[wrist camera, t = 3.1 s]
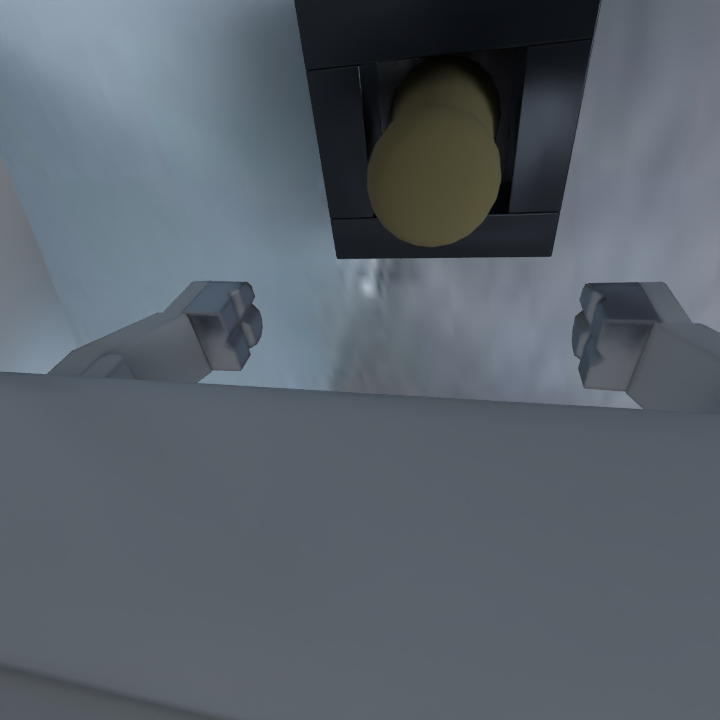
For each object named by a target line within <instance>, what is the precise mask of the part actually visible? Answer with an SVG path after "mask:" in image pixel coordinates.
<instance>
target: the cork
mask: <svg viewBox="0 0 720 720" xmlns="http://www.w3.org/2000/svg"><path fill="white" fill-rule="evenodd" d="M500 116H501V110H500V99H499V93H498V91H497V88H496V86H495V84H494V82H493V79H492V77H491V76H490V75H489V74H488V73H487V72H486V71H485V69H484V68H483V67H482V66H481V65H480V64H479V63H477V62H475V61H473V60H471V59H468V58H466V57H464V56H462V55H440V56H437V57H434V58H431V59H428V60H425V61H423V62H422V63H421V64H419V65H418V66H417V67H415V68H414V69H413V70H411V71H410V72H409V73H408V74H407V76H406V77H405V78H404V80H403V81H402V83H401V84H400V85H399V87H398V88H397V90H396V93H395V96H394V99H393V102H392V105H391V108H390V125H389V126H388V128H387V129H386V130H385V132H384V133H383V135H382V136H381V137H380V139H379V140H378V141H377V143H376V145H375V146H374V149H373V152H372V155H371V158H370V161H369V164H368V170H367V190H368V195H369V198H370V202H371V205H372V209H373V211H374V213H375V214H376V216H377V218H378V219H379V221H380V222H381V224H382V225H383V227H385V228H386V229H387V230H388V231H389V232H391V233H392V234H393V235H394V236H395V237H397V238H398V239H401V240H403V241H405V242H408V243H410V244H413V245H417V246H426V247H437V246H442V245H447V244H452V243H454V242H456V241H458V240H460V239H462V238H464V237H466V236H468V235H469V234H470V233H471V232H473V231H474V230H475V229H476V228H477V227H478V226H479V225H480V224H481V223H482V222H483V221H484V220H485V218H486V216H487V214H488V213H489V211H490V209H491V208H492V206H493V204H494V202H495V201H496V199H497V195H498V191H499V186H500V182H501V178H502V176H501V166H500V155H499V150H498V148H497V146H496V144H495V142H494V141H495V138H496V135H497V131H498V126H499V121H500Z"/></svg>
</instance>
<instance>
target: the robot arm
mask: <svg viewBox="0 0 720 720" xmlns="http://www.w3.org/2000/svg"><path fill="white" fill-rule="evenodd" d="M254 298H255V295H254V292H253V289H252V286H251V285H250V284H249V283H248V282H233V281H194V282H191V284H190V285H189V286H188V287H187V288H186V289H185V290H184V291H183V292H182V293H181V294H180V295H179V296H178V297H177V298H176V299H175V300H174V301H173V303H172V304H171V305H170V306H169V307H168V308H167V309H166V310H165V311H164V312H163V313H156V314H153V315H151V316H149V317H147V318H145V319H142V320H140V321H138V322H136V323H133V324H131V325H129V326H127V327H125V328H122V329H120V330H118V331H116V332H113V333H111V334H109V335H107V336H104V337H102V338H100V339H98V340H96V341H93V342H91V343H89V344H87V345H84V346H82V347H80V348H78V349H76V350H73V351H71V352H70V353H69V354H68V355H67V356H66V357H65V358H64V359H63V360H62V361H60V362H59V363H58V364H57V365H56V366H55V367H54V368H53V369H52V370H51V371H50V372H49V373H48V374H32V373H16V372H15V373H14V372H0V720H720V333H719V332H717V331H715V330H713V329H711V328H709V327H707V326H705V325H703V324H694V323H692V322H691V320H690V319H689V317H688V316H687V314H686V313H685V311H684V310H683V308H682V307H681V305H680V304H679V302H678V301H677V299H676V298H675V296H674V295H673V294H672V292H671V291H670V289H669V288H668V286H667V285H666V284H665V283H663V282H627V283H588V284H585V286H584V288H583V290H582V293H581V297H580V303H581V306H582V309H583V310H582V311H581V312H580V313H579V314H578V315H577V316H575V320H574V325H573V330H572V347H573V352H574V355H575V356H576V357H577V358H579V359H580V364H579V367H578V370H579V373H580V376H581V380H582V383H583V386H584V388H586V389H599V390H613V391H626V394H628V395H629V396H630V397H631V398H632V399H633V400H634V401H635V402H636V403H638V404H639V405H640V406H641V407H642V408H643V409H628V408H611V407H594V406H577V405H560V404H543V403H526V402H509V401H491V400H474V399H457V398H440V397H423V396H406V395H389V394H372V393H355V392H338V391H321V390H304V389H287V388H270V387H253V386H236V385H219V384H202V383H197V382H199V381H200V380H201V379H203V378H204V377H205V376H207V375H208V374H209V373H211V372H212V371H211V370H224V371H241V370H242V368H243V367H244V365H245V363H246V362H247V360H248V358H249V357H250V355H251V354H250V351H249V349H250V348H251V347H253V346H255V345H256V344H257V343H258V341H259V339H260V338H261V333H262V328H263V326H262V318H261V314H260V311H259V310H258V309H257V308H256V307H255V306H254V305H253V304H252V302H253V300H254Z"/></svg>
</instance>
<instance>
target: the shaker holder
mask: <svg viewBox="0 0 720 720" xmlns="http://www.w3.org/2000/svg"><path fill="white" fill-rule="evenodd" d="M601 1H602V0H294V2H295V8H296V14H297V20H298V26H299V32H300V39H301V45H302V51H303V57H304V63H305V69H306V70H307V71H306V74H307V80H308V86H309V92H310V99H311V105H312V111H313V117H314V123H315V129H316V135H317V141H318V147H319V153H320V159H321V165H322V172H323V178H324V184H325V190H326V196H327V202H328V208H329V214H330V218H331V226H332V232H333V238H334V244H335V250H336V256H337V259H377V258H469V257H550V256H551V255H552V251H553V246H554V241H555V236H556V231H557V225H558V220H559V215H560V210H561V205H562V200H563V195H564V190H565V185H566V180H567V175H568V170H569V164H570V159H571V154H572V149H573V144H574V139H575V134H576V129H577V124H578V118H579V113H580V108H581V103H582V98H583V93H584V88H585V83H586V77H587V72H588V67H589V62H590V57H591V52H592V47H593V42H594V39H593V38H594V37H595V32H596V26H597V21H598V16H599V11H600V6H601ZM512 47H517V53H516V63H515V73H514V83H513V93H512V102H511V112H510V122H509V132H508V142H507V151H506V161H505V171H504V181H503V182H504V183H500V186H499V191H498V195H497V199H496V201H495V202H494V204H493V206H492V208H491V209H490V211H489V213H488V214H487V216H486V218H485V220H484V221H483V222H482V223H481V224H480V225H479V226H478V227H477V228H476V229H475V230H474V231H473V232H471V233H470V234H469V235H468V236H466V237H464V238H462V239H460V240H458V241H456V242H454V243H452V244H447V245H442V246H437V247H426V246H417V245H413V244H410V243H408V242H405V241H403V240H401V239H398V238H397V237H395V236H394V235H393V234H392V233H391V232H389V231H388V230H387V229H386V228H385V227H383V225H382V224H381V222H380V221H379V219H378V218H377V216H376V214H375V213H374V211H373V209H372V205H371V202H370V198H369V195H368V190H367V170H368V164H369V161H370V158H371V155H372V152H373V149H374V146H375V145H376V143H377V141H378V140H379V139H380V137H381V136H382V134H381V121H380V107H379V94H378V80H377V67H376V63H377V62H386V61H395V60H404V59H413V58H422V57H431V56H440V55H449V54H458V53H467V52H476V51H485V50H494V49H503V48H512Z"/></svg>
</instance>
